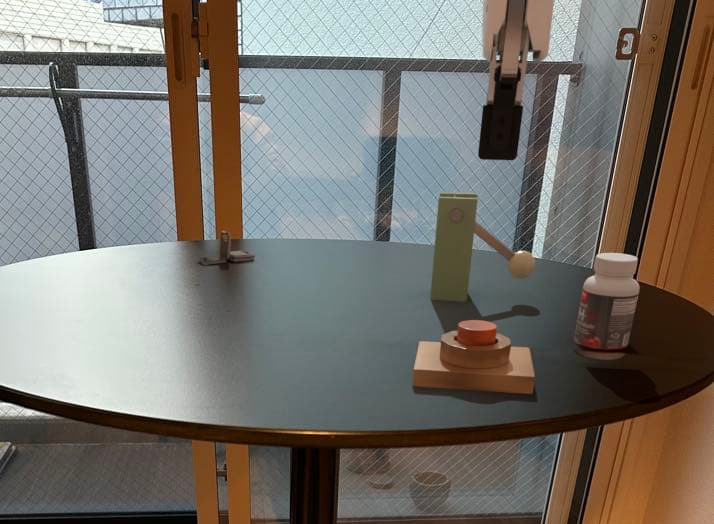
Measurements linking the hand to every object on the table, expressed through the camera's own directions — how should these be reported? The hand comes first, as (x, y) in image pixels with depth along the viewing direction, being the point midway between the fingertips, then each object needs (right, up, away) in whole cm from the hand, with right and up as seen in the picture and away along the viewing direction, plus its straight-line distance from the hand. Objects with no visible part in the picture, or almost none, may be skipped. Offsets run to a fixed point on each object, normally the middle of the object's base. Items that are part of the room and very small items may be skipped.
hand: (496, 158), depth 68 cm
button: (0, -14, +8) cm, 16 cm away
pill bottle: (+14, -13, +16) cm, 25 cm away
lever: (+5, +2, +28) cm, 29 cm away
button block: (0, -16, +10) cm, 19 cm away
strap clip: (-29, +10, +54) cm, 62 cm away
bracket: (+1, -3, +32) cm, 32 cm away
